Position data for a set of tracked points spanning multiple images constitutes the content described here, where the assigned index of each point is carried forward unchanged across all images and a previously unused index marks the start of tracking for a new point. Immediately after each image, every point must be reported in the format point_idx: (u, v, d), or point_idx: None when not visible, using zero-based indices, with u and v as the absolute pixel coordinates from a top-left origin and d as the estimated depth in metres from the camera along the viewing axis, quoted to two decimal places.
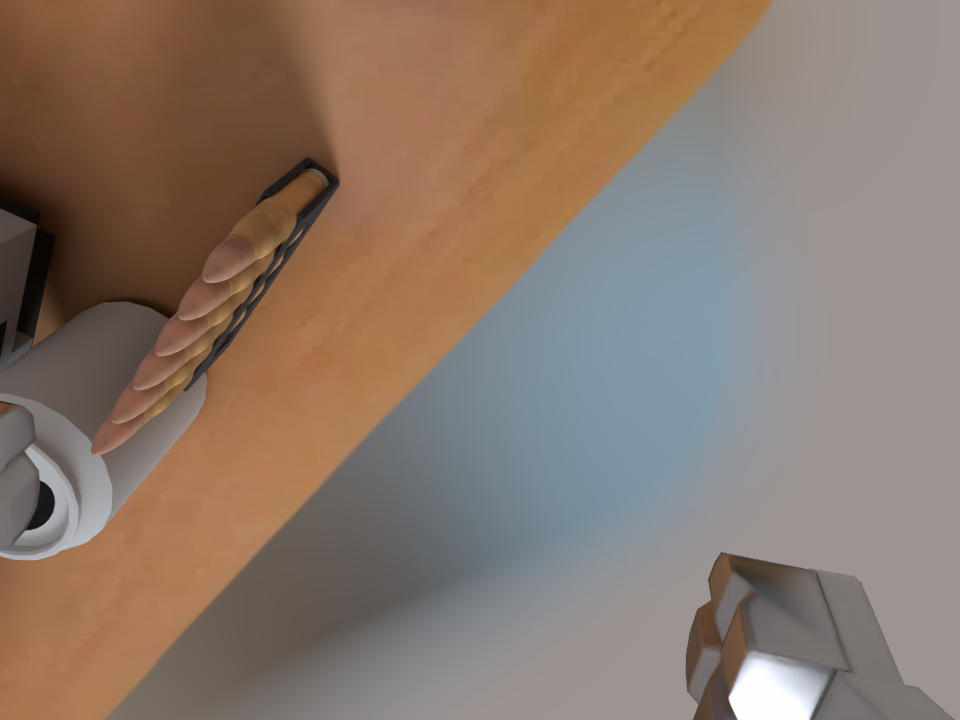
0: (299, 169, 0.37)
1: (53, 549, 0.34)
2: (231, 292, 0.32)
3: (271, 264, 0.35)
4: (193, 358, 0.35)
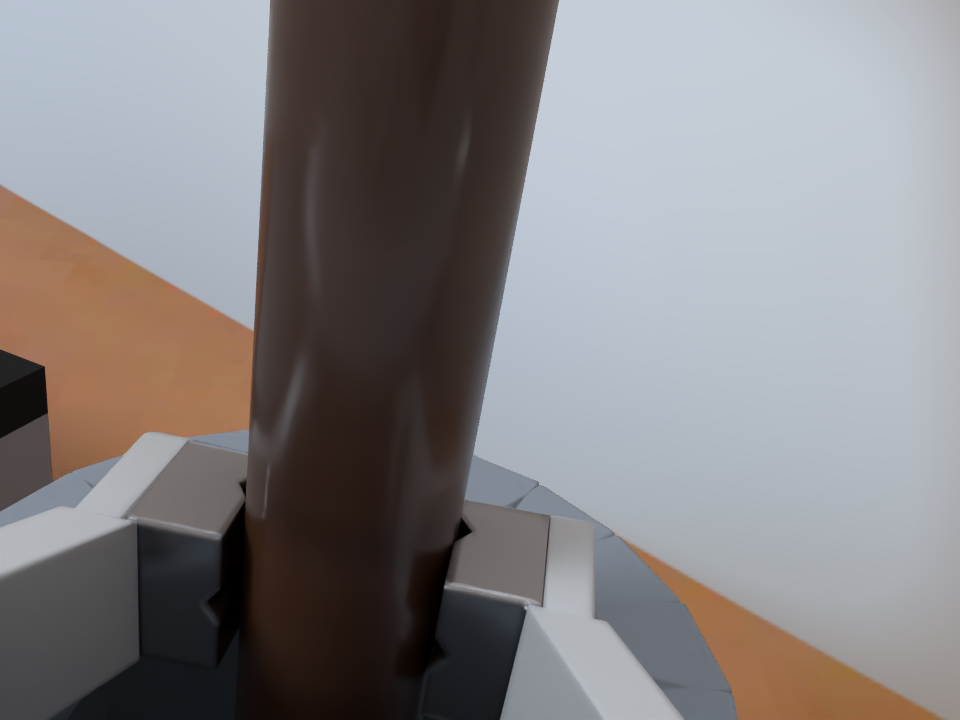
0: None
1: None
2: None
3: None
4: None
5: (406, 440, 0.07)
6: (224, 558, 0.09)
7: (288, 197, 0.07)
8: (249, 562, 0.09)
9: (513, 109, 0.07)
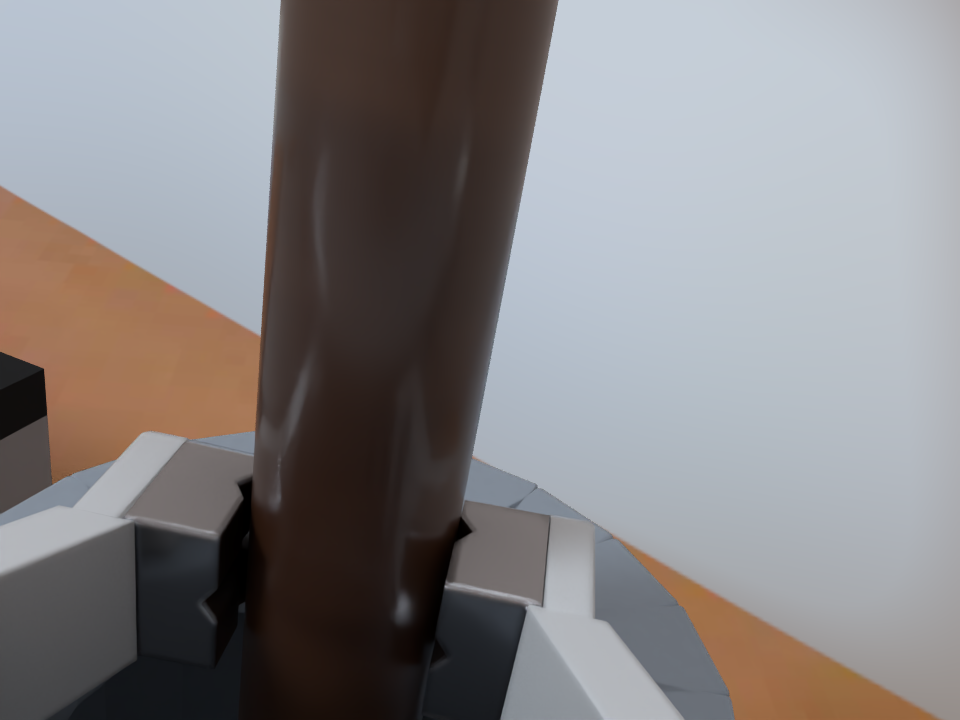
0: None
1: None
2: None
3: None
4: None
5: (394, 543, 0.08)
6: (222, 557, 0.09)
7: (287, 333, 0.07)
8: (249, 645, 0.09)
9: (487, 258, 0.07)
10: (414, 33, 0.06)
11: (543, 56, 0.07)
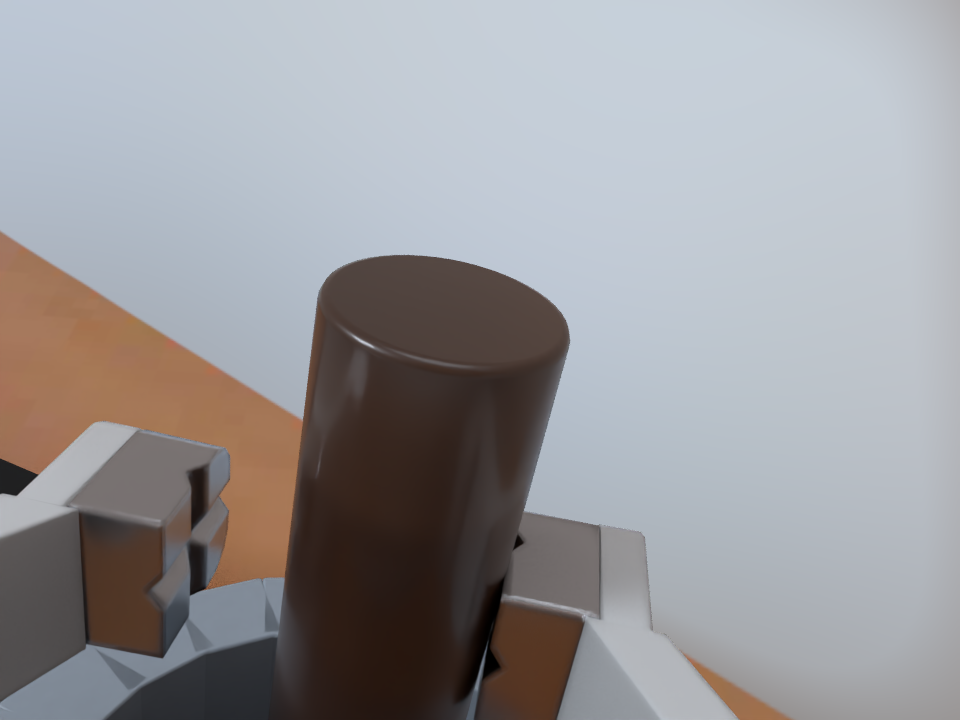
0: None
1: None
2: None
3: None
4: None
5: None
6: (167, 546, 0.09)
7: (303, 661, 0.08)
8: None
9: (483, 607, 0.08)
10: (426, 475, 0.07)
11: (538, 452, 0.08)
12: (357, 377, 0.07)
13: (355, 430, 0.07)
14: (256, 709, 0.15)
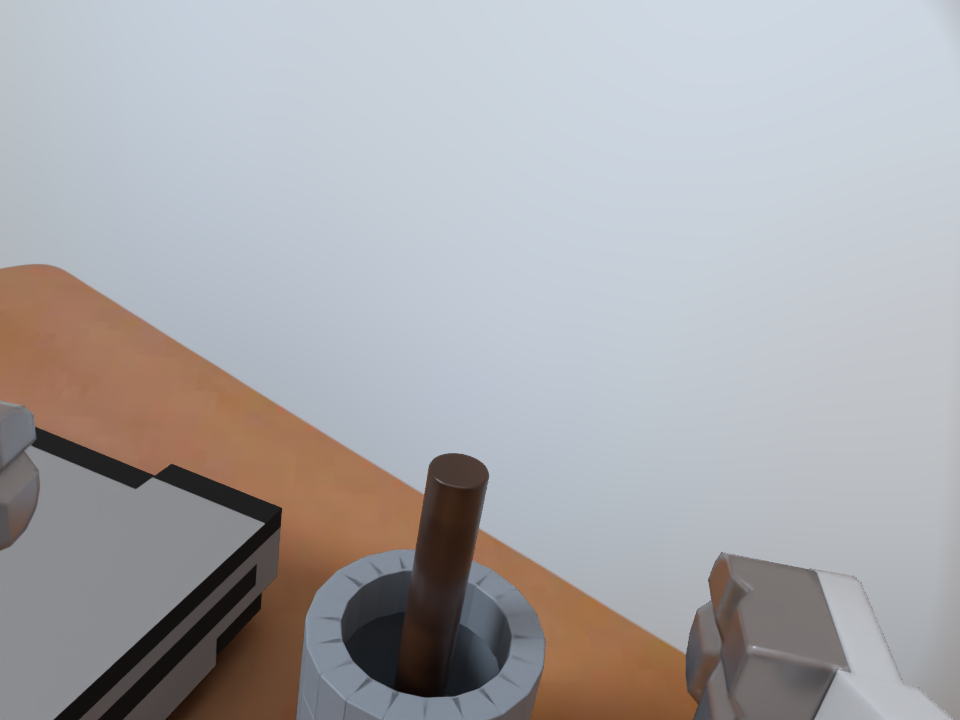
0: None
1: None
2: None
3: None
4: None
5: (448, 606, 0.33)
6: None
7: (424, 560, 0.32)
8: (407, 632, 0.34)
9: (471, 544, 0.32)
10: (456, 510, 0.31)
11: (482, 504, 0.32)
12: (440, 489, 0.31)
13: (439, 501, 0.31)
14: (396, 600, 0.38)
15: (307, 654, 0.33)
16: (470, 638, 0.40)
